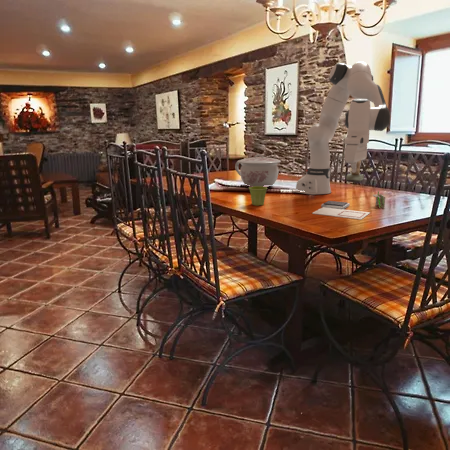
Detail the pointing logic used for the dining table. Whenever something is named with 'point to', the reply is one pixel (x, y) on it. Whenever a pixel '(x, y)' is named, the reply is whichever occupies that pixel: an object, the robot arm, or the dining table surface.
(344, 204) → the ink pad
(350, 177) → the stamp
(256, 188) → the plant pot
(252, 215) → the dining table surface
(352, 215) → the paper sheet
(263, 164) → the chamber pot
